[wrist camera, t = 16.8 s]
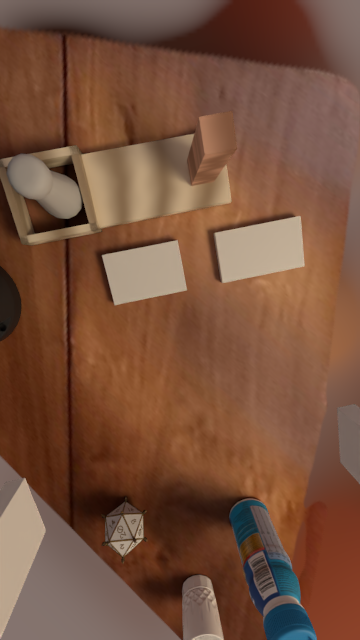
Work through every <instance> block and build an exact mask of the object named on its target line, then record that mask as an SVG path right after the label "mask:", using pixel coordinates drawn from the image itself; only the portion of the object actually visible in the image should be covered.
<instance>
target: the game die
mask: <svg viewBox="0 0 360 640" xmlns="http://www.w3.org/2000/svg"><path fill="white" fill-rule="evenodd" d="M124 499H125V502H124V503H122V504H121V505H120V506H118V507H117V508H116V509H114V510H113V511H112V512H111V513H109V514H108V515H107V516H105V515H104V514H102V517H103V518H105V542H103V543H102V546H104V545H106V546H107V545H108V546H110V547H111V548H112V549H113V550H114V551H116V552H117V553H118V554H119V555H120V556H121V557H122V559H121V560H122V563H124V556H126V555H127V554H128V553H129V552H130V551H131V550H132V549H133V548H134V547H135V546H137V545H138V544H139V543H140V542H141V541H142V540H144V541H145V542H146V541H148V540H147V538H146V537H145V538H144V524H143V514H145V513H146V511H147V510H144V511H143V512H141V511H140V510H138V509H137V508H135V507H134V506H132V505H131V504H130V503H128V502H127V497H125V498H124Z"/></svg>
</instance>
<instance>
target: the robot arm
mask: <svg viewBox="0 0 360 640" xmlns="http://www.w3.org/2000/svg"><path fill="white" fill-rule="evenodd" d="M20 314H21V299H20V295H19V292H18V289H17V287H16V285H15V283H14V281H13V280H12V278H11V277H10V275H9V274H8V273H7V272H6V271H5V270H4V269H3V268H2V267H1V266H0V341H2V340H4V339H5V338H6V337H8V336H9V335H10V334H11V333H12V332H13V330H14V329H15V327H16V326H17V324H18V321H19V318H20ZM337 413H338V430H339V447H340V462H341V464H342V465H343V466H344V467H345V468H346V469H347V470H348V471H349V473H350V474H351V475H352V476H353V477H354V478H355V479H356V480H357V481H358V482H359V484H360V408H359V407H358V406H357V405H355V404H353V405H348V406H344V407H339V408H337ZM45 532H46V529H45V527H44V524H43V522H42V519H41V517H40V514H39V512H38V509H37V507H36V504H35V502H34V499H33V497H32V494H31V492H30V489H29V487H28V484H27V482H26V479H25V478H22V479H17V480H13V481H9V482H6V483H5V484H4V486H3V487H2V488H1V490H0V639H1V636H2V634H3V632H4V630H5V627H6V625H7V622H8V620H9V617H10V615H11V613H12V610H13V608H14V606H15V603H16V601H17V598H18V596H19V594H20V591H21V589H22V586H23V584H24V582H25V579H26V577H27V575H28V572H29V570H30V567H31V565H32V563H33V560H34V558H35V555H36V553H37V551H38V548H39V546H40V543H41V541H42V539H43V536H44V534H45Z"/></svg>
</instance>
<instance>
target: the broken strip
mask: <svg viewBox="0 0 360 640" xmlns="http://www.w3.org/2000/svg"><path fill="white" fill-rule="evenodd" d="M213 235H214V241H215V248H216V254H217V260H218V267H219V273H220V280H221V283H225V282H230V281H235V280H240V279H245V278H250V277H254V276H259V275H264V274H269V273H274V272H279V271H284V270H289V269H294V268H299V267H303V266H305V265H304V253H303V240H302V228H301V216H298V217H293V218H288V219H282V220H277V221H272V222H267V223H262V224H257V225H252V226H247V227H242V228H237V229H232V230H227V231H222V232H217V233H214V234H213ZM102 258H103V262H104V266H105V269H106V273H107V277H108V281H109V285H110V289H111V293H112V297H113V301H114V304H115V305H117V304H122V303H127V302H132V301H137V300H142V299H147V298H152V297H157V296H161V295H166V294H171V293H176V292H181V291H186V290H187V288H186V283H185V277H184V272H183V267H182V261H181V256H180V251H179V245H178V240H176V241H171V242H166V243H161V244H156V245H151V246H146V247H141V248H136V249H131V250H126V251H121V252H116V253H110V254H105V255H102Z"/></svg>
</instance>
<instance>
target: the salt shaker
mask: <svg viewBox="0 0 360 640" xmlns="http://www.w3.org/2000/svg"><path fill="white" fill-rule="evenodd" d="M6 174H7V177H8V180H9V183H10V184H11V186H12V187H13V188H14V190H15V191H16V192H17V193H19V194H20V195H22V196H24V197H26V198H28V199H35V200H36V201H37V202H38V203H39V204H40V205H41V206H42V207H43V208H44V209H45V210H46V211H47V212H48V213H49V214H51V215H53V216H55V217H57V218H63V219H69V218H71V217H74V216H76V215H77V214H78V212H79V211H80V210H81V209H82V203H83V198H82V195H81V191H80V188H79V186H78V185H77V184H76V182H75V181H74V180H72V179H71V178H69V177H67V176H66V175H63V174H60V173H57V172H53V171H50V170H49V169H48V167H47V166H46V165H45V163H44V162H43V161H42V160H40V159H38V158H37V157H35V156H33V155H31V154H19V155H17V156H14V157H13V158H12V159H11V161H10V162H9V163H8V167H7V173H6Z"/></svg>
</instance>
